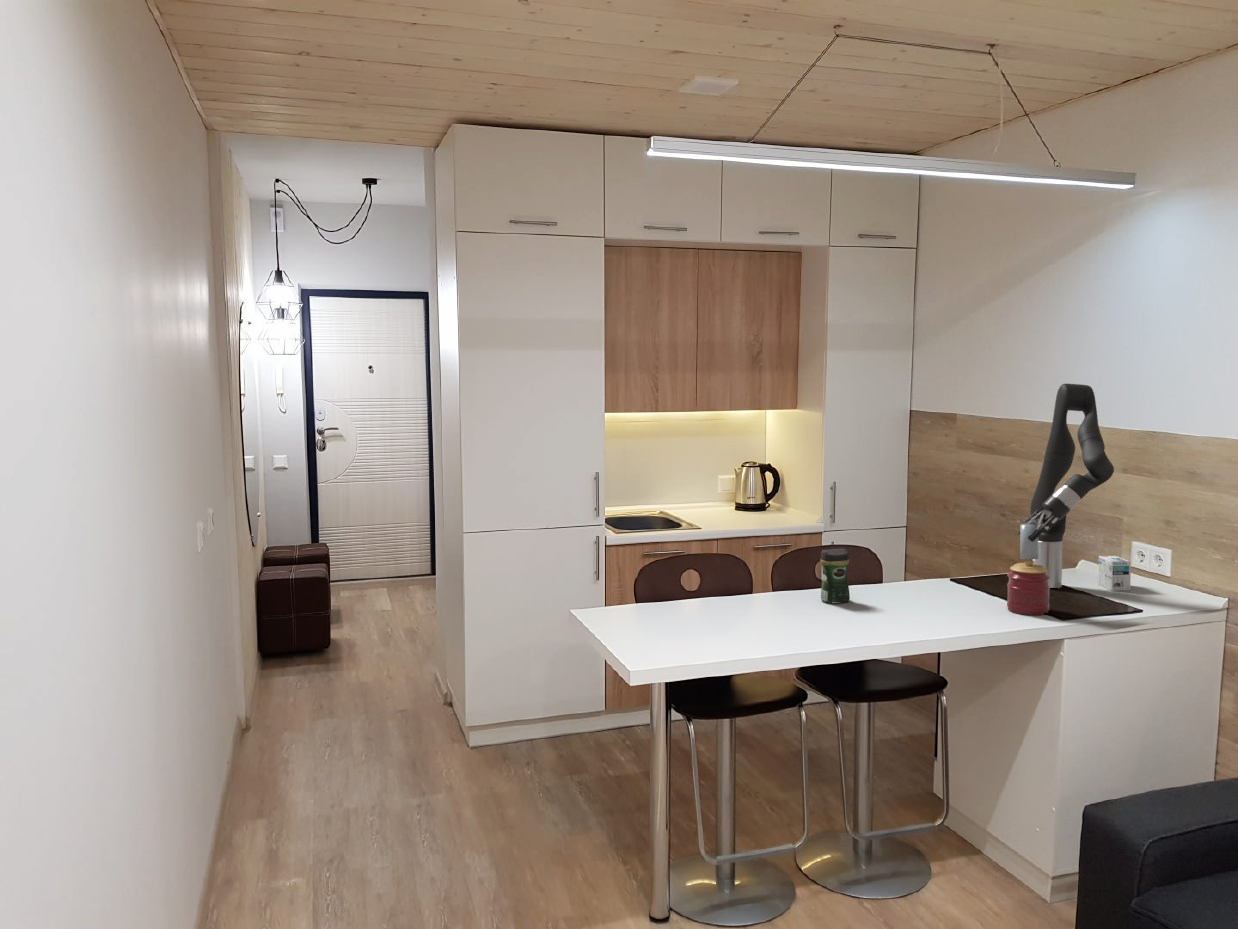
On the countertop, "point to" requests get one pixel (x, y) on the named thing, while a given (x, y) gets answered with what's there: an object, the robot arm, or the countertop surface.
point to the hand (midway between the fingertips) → (1025, 537)
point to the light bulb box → (1114, 573)
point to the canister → (1028, 589)
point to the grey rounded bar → (1028, 542)
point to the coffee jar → (835, 575)
